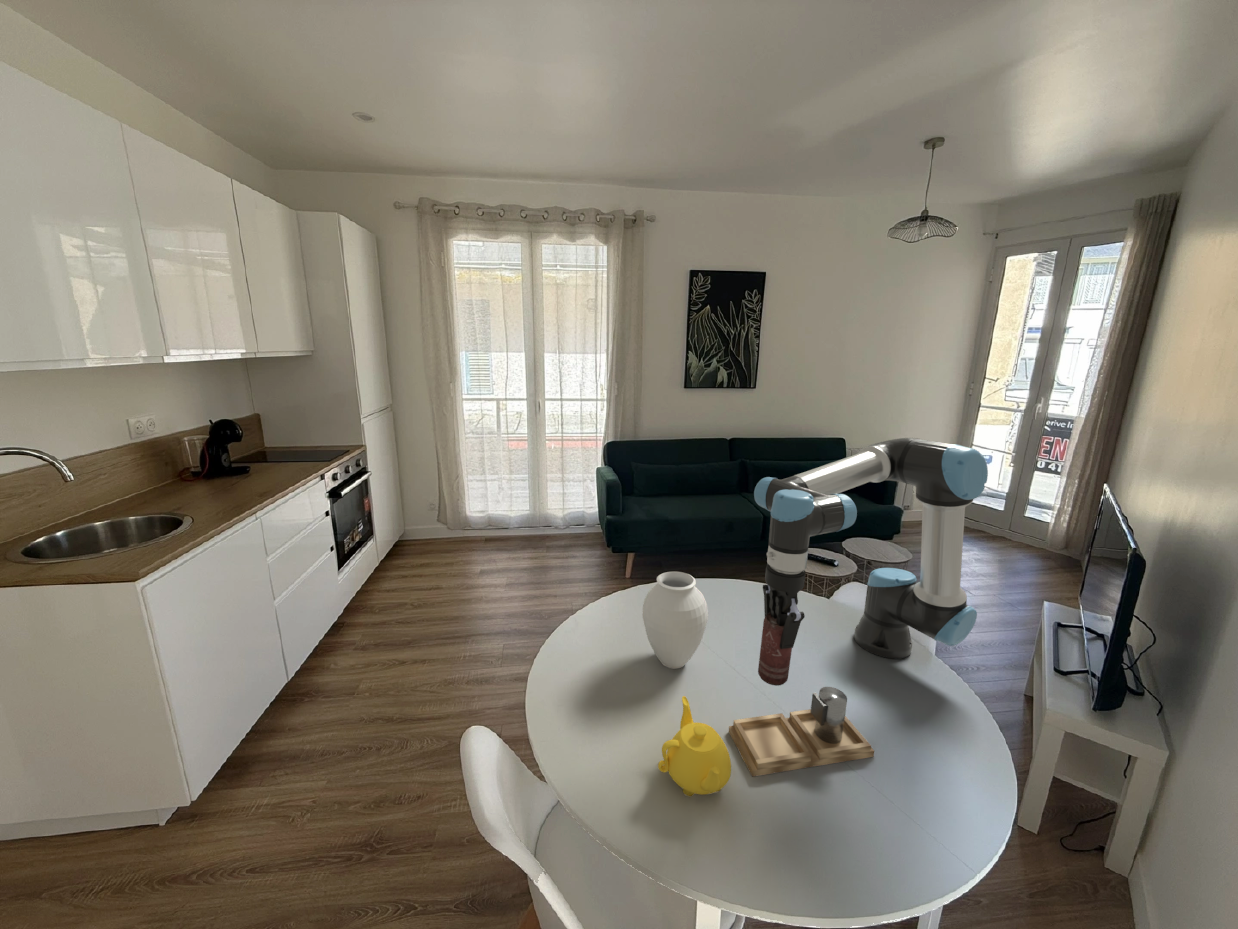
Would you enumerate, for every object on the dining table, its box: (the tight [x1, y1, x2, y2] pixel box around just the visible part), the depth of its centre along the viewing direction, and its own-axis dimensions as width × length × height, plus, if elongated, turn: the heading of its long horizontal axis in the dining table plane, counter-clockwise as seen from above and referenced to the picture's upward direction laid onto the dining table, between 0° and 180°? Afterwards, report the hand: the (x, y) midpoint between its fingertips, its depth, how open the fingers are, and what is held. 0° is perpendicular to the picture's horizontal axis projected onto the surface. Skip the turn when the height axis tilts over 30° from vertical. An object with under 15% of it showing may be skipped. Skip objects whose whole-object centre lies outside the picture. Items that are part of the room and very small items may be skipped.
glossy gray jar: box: [810, 686, 848, 744], centre depth 105 cm, size 6×6×10 cm
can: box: [757, 613, 793, 687], centre depth 100 cm, size 6×6×14 cm
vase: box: [642, 570, 709, 670], centre depth 131 cm, size 18×18×25 cm
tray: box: [728, 708, 875, 777], centre depth 105 cm, size 28×12×3 cm, turn 101°
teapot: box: [657, 695, 732, 797], centre depth 96 cm, size 20×15×12 cm
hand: (775, 669), depth 101 cm, fingers closed
